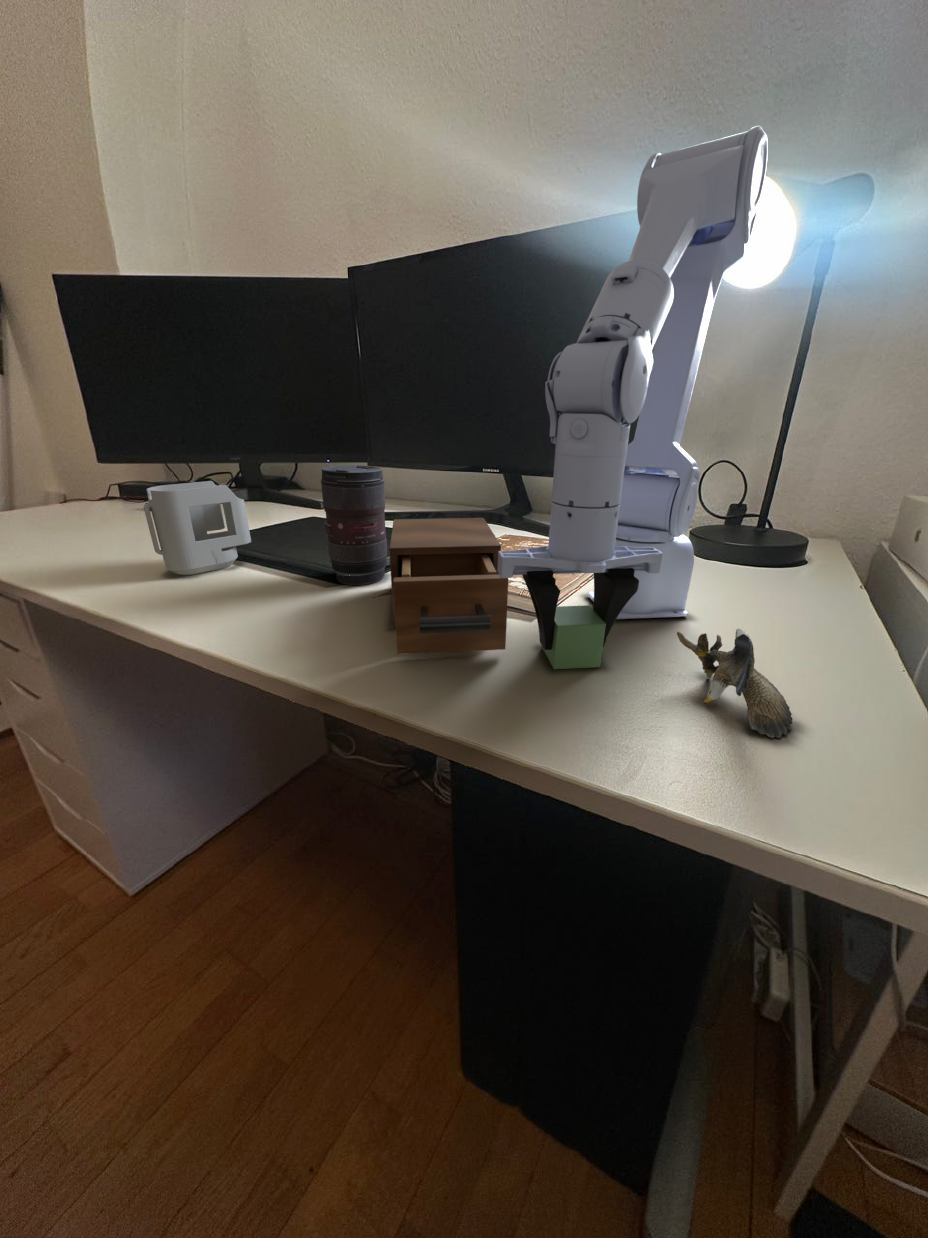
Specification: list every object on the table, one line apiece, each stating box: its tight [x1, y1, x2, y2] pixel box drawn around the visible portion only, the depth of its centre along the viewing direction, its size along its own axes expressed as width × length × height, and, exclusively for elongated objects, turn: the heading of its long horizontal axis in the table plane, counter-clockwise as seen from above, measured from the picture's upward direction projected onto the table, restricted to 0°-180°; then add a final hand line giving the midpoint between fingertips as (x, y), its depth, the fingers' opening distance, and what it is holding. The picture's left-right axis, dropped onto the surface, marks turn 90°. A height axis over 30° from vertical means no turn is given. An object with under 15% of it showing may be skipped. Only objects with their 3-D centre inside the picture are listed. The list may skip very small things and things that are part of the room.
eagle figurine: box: [676, 627, 793, 739], centre depth 40 cm, size 8×7×9 cm
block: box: [541, 604, 606, 670], centre depth 47 cm, size 4×4×4 cm
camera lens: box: [320, 464, 388, 586], centre depth 66 cm, size 8×8×15 cm
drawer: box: [393, 553, 509, 655], centre depth 49 cm, size 17×10×7 cm, turn 6°
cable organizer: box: [143, 480, 252, 576], centre depth 71 cm, size 7×12×12 cm, turn 134°
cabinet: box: [388, 517, 502, 630], centre depth 59 cm, size 14×12×9 cm
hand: (571, 644), depth 47 cm, fingers closed on block, 4 cm apart
